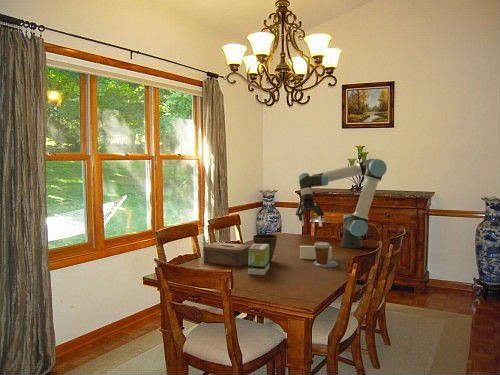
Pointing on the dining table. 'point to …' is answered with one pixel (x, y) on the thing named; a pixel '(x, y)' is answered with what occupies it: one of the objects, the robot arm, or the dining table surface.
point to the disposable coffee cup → (321, 252)
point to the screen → (311, 252)
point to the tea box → (258, 259)
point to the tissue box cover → (226, 253)
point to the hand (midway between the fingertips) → (311, 225)
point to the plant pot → (266, 242)
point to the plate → (328, 265)
